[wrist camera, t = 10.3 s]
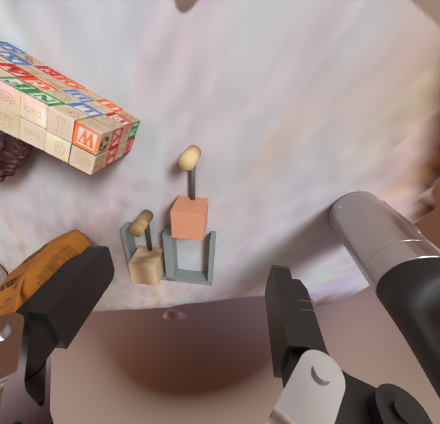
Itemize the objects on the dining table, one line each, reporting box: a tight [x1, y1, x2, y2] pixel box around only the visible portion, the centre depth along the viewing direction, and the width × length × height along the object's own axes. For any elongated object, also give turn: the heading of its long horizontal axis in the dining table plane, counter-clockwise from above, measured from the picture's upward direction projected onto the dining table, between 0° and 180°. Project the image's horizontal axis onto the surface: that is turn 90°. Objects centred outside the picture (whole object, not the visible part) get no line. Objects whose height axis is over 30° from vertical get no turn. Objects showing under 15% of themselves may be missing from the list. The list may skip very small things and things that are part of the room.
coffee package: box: [0, 230, 93, 316], centre depth 43 cm, size 10×12×22 cm
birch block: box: [128, 210, 165, 286], centre depth 47 cm, size 6×16×6 cm, turn 176°
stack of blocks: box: [0, 41, 140, 175], centre depth 30 cm, size 21×6×12 cm, turn 60°
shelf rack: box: [120, 222, 216, 285], centre depth 49 cm, size 20×14×3 cm
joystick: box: [170, 145, 208, 241], centre depth 39 cm, size 6×16×6 cm, turn 176°
